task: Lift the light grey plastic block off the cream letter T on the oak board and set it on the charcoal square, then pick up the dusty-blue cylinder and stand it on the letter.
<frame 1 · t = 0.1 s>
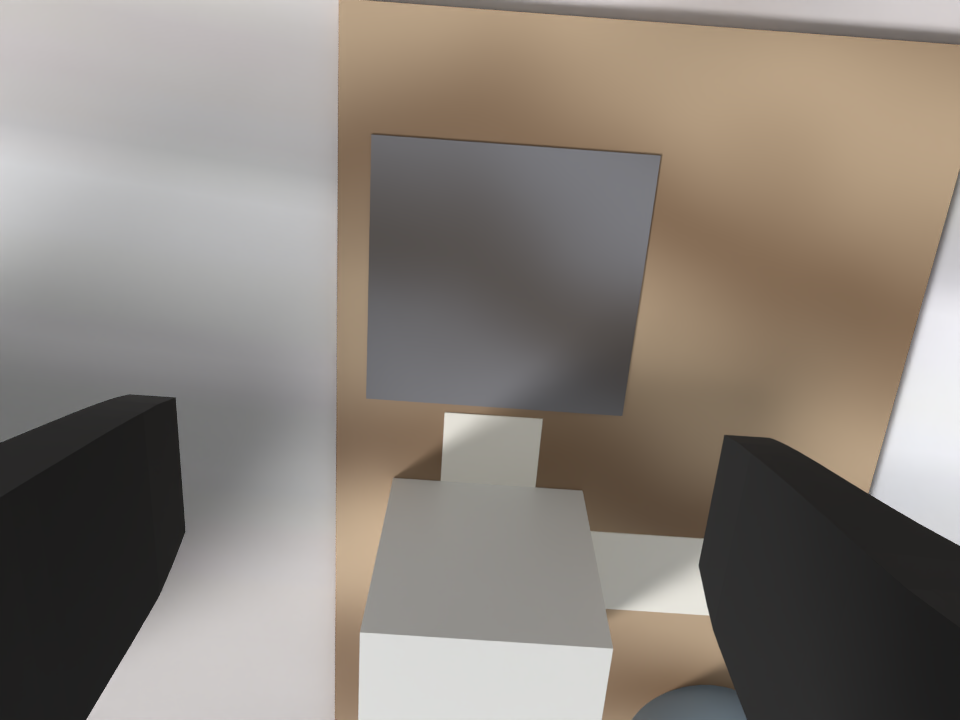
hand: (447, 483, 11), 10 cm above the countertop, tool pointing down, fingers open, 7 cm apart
letter T: (481, 556, 23), resting on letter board
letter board: (599, 485, 22), on the countertop
grey block: (481, 563, 23), resting on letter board, touching letter T
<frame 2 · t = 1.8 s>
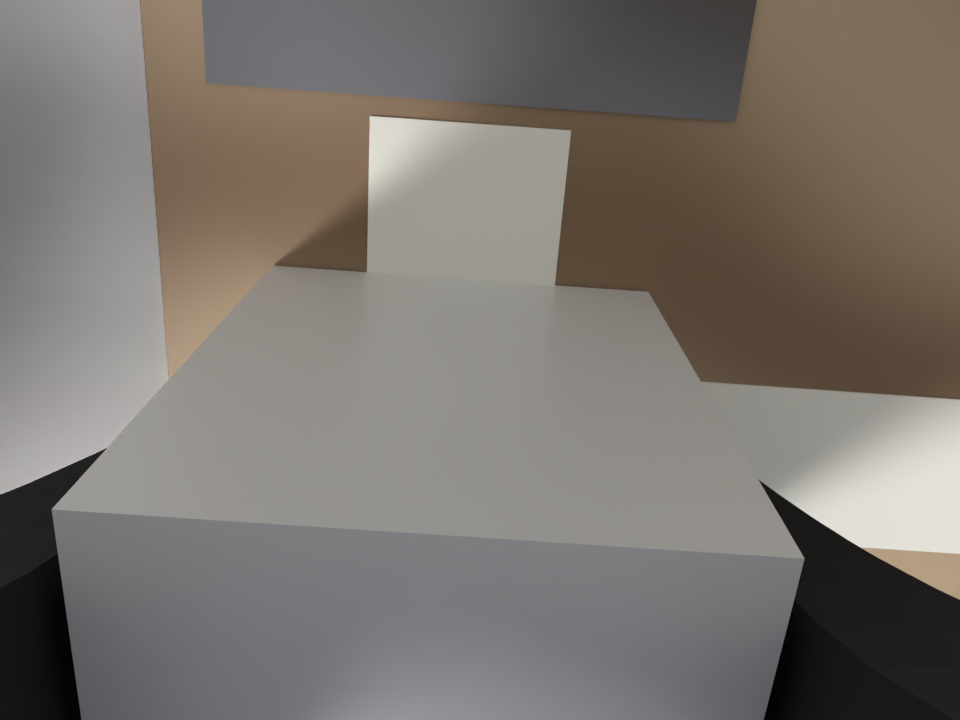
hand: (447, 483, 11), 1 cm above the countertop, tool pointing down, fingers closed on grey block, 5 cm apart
letter T: (451, 435, 12), resting on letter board
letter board: (680, 287, 11), on the countertop
grey block: (450, 445, 12), resting on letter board, touching gripper, letter T
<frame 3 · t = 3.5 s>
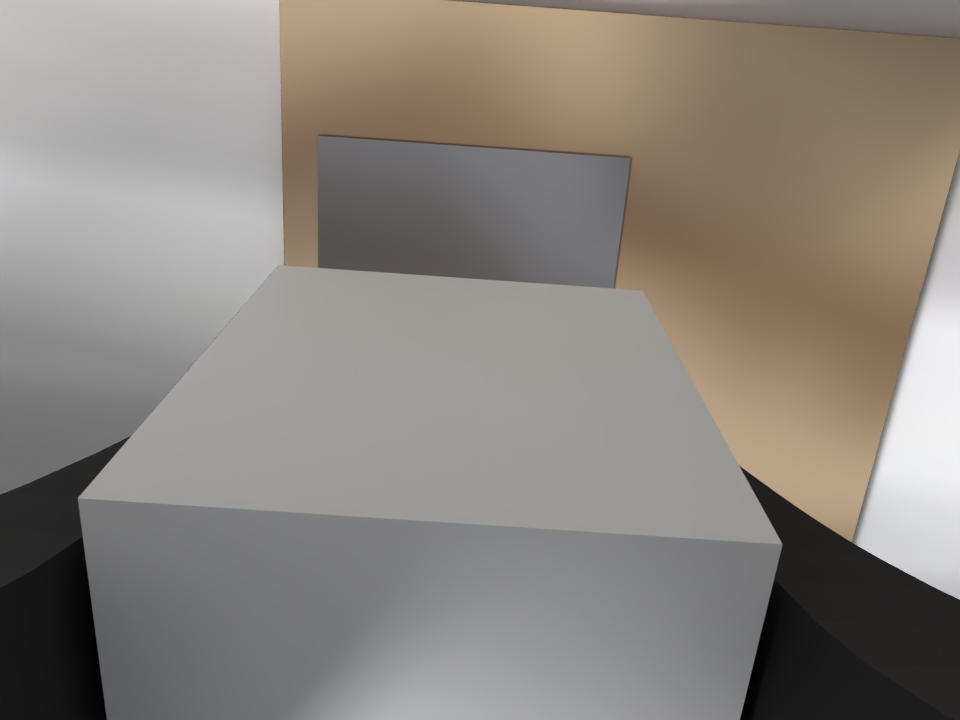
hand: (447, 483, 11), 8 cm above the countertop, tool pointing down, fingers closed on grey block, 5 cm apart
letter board: (571, 510, 21), on the countertop
grey block: (451, 439, 12), point 7 cm above the countertop, touching gripper
when the fingers open (3 cm above the countertop, at t = 5.1 s): grey block stays where it is, resting on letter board.
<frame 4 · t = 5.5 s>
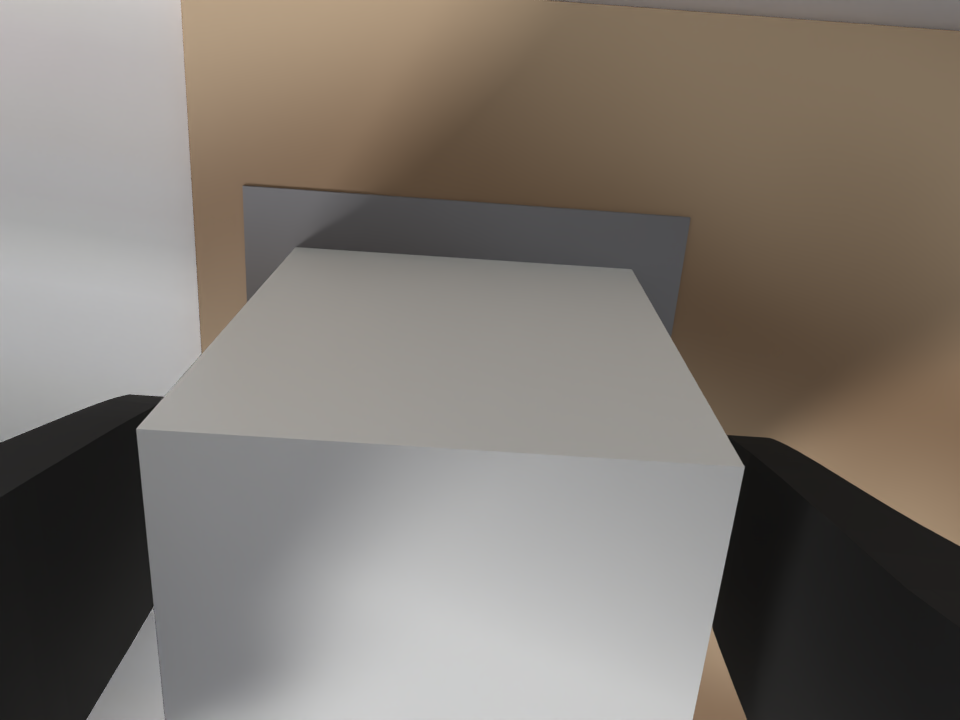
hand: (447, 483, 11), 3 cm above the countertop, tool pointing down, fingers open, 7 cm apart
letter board: (597, 673, 16), on the countertop
grey block: (455, 410, 13), resting on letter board
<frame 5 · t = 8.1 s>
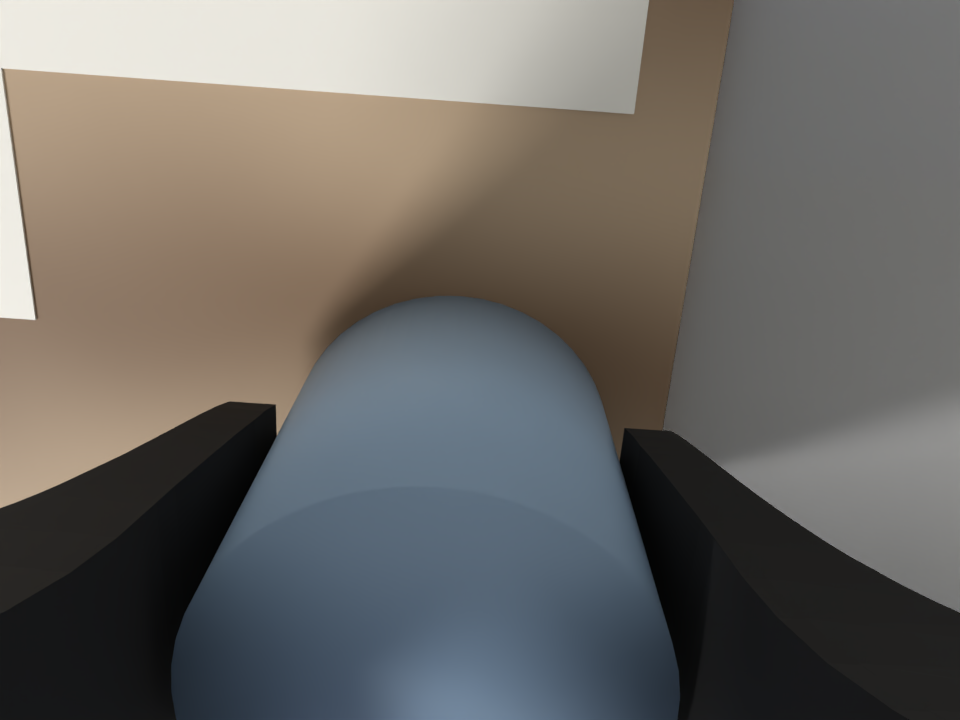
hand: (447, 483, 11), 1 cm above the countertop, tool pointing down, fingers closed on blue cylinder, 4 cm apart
blue cylinder: (450, 444, 12), resting on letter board, touching gripper
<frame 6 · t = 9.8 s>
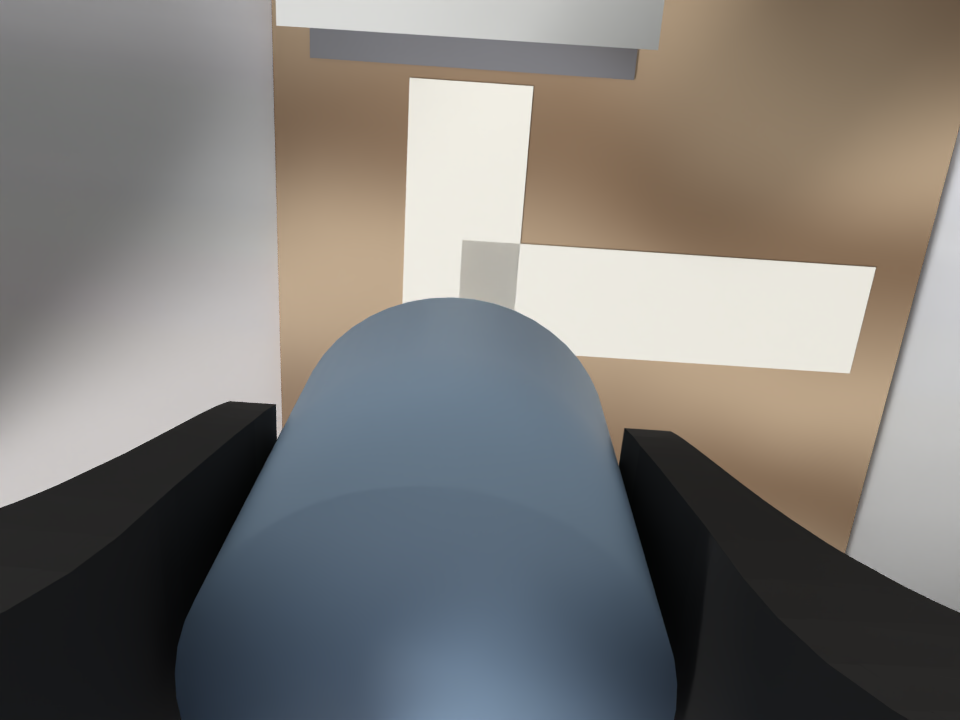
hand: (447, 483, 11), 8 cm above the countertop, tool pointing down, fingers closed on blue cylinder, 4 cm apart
letter T: (459, 290, 19), resting on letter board
blue cylinder: (450, 445, 12), point 7 cm above the countertop, touching gripper
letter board: (605, 188, 18), on the countertop
when the fingers open (3 cm above the countertop, at t = 11.4 s): blue cylinder stays where it is, resting on letter T.
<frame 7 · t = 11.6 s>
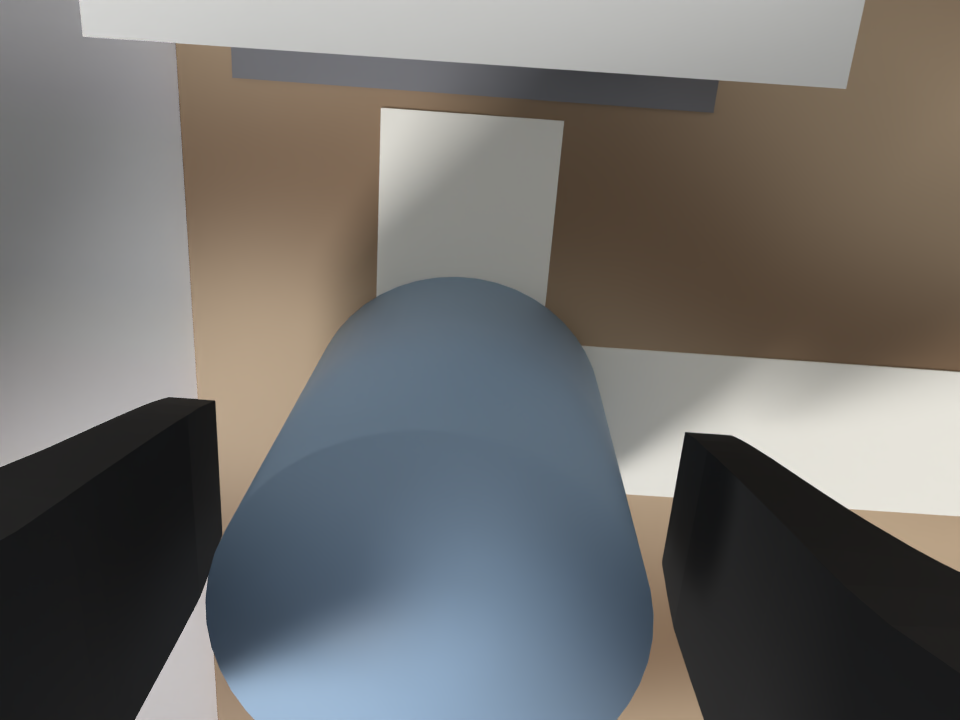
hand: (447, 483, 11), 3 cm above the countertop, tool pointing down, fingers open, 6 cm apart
letter T: (454, 403, 13), resting on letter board
blue cylinder: (455, 415, 13), resting on letter T
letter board: (665, 265, 12), on the countertop
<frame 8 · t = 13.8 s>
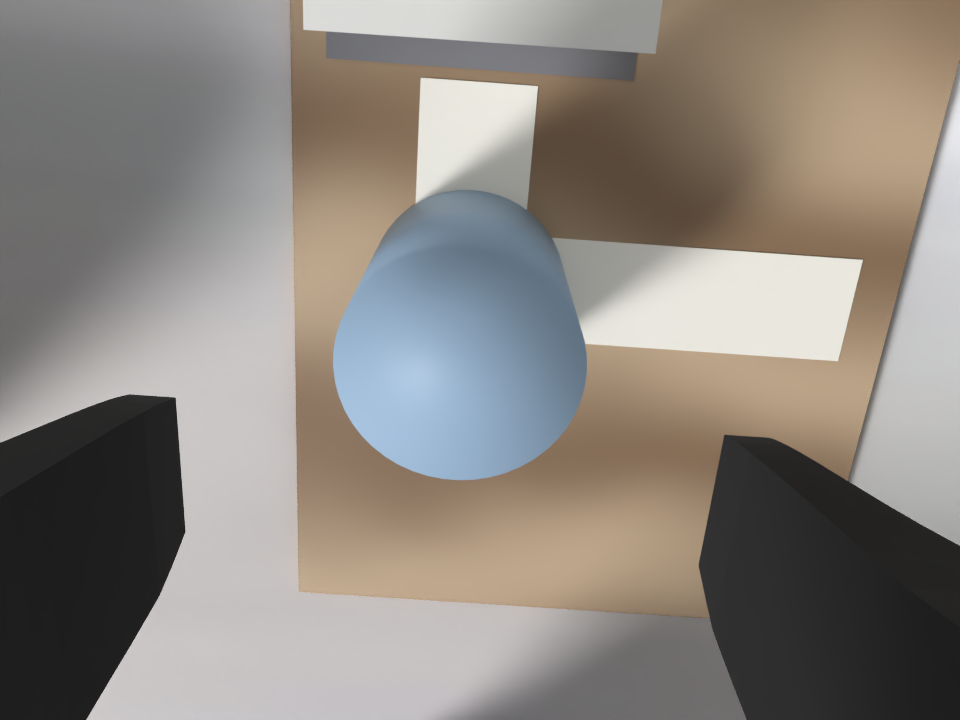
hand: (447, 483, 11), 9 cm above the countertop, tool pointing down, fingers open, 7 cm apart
letter T: (466, 281, 20), resting on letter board
blue cylinder: (467, 286, 19), resting on letter T
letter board: (606, 183, 19), on the countertop
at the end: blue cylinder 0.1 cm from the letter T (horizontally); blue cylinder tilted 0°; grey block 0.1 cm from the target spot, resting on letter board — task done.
